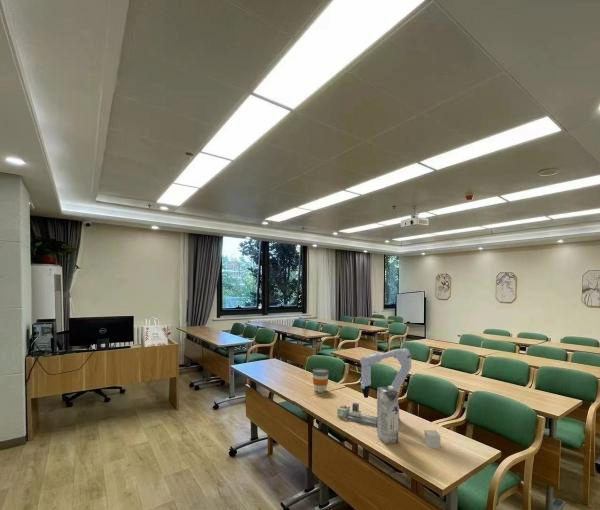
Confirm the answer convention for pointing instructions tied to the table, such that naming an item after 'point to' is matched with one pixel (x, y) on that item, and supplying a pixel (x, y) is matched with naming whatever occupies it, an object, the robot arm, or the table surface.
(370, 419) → the rail board
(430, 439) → the light grey cube
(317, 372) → the reusable coffee cup
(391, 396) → the juice carton
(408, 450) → the table surface
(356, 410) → the carriage
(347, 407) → the end cabinet
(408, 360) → the robot arm
